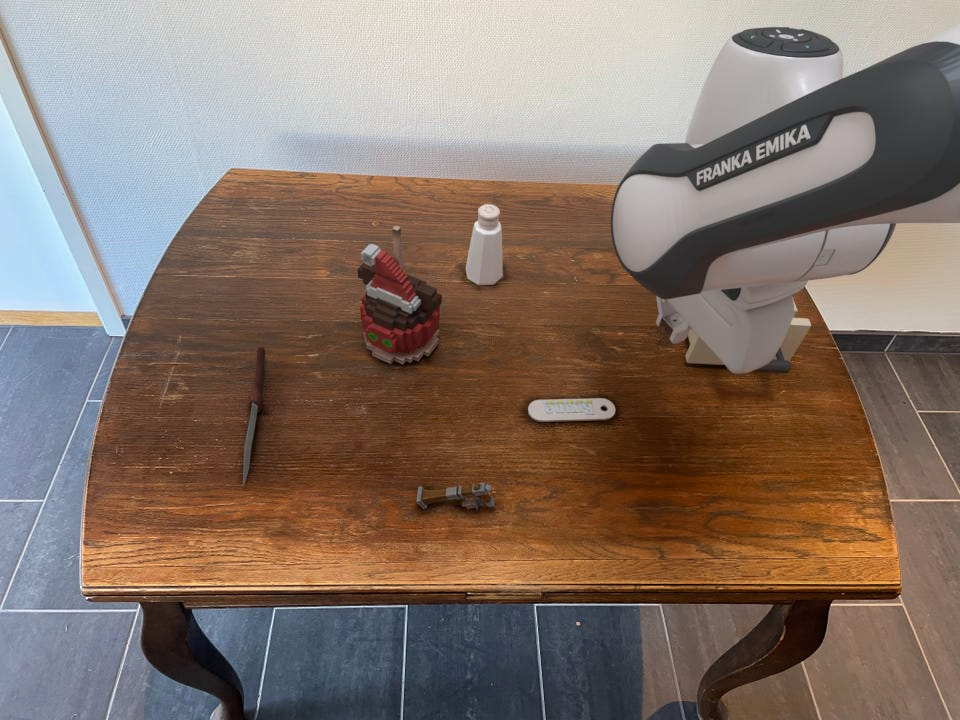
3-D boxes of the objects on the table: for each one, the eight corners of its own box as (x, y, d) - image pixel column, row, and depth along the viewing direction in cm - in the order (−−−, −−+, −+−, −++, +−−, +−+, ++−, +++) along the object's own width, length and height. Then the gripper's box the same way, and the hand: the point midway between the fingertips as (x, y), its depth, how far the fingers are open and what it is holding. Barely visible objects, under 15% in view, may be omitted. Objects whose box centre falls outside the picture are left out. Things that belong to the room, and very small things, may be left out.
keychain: (613, 396, 83) (618, 416, 81) (612, 399, 84) (617, 419, 82) (527, 398, 82) (530, 419, 80) (526, 401, 83) (529, 422, 81)
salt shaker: (470, 256, 99) (474, 193, 90) (507, 265, 98) (514, 201, 90) (459, 281, 95) (462, 217, 87) (497, 290, 95) (504, 227, 86)
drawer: (795, 398, 84) (823, 356, 78) (693, 393, 84) (713, 350, 78) (761, 297, 95) (783, 254, 89) (671, 292, 95) (687, 248, 89)
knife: (252, 491, 73) (247, 477, 71) (237, 492, 73) (231, 478, 71) (271, 358, 85) (267, 342, 83) (258, 359, 85) (254, 342, 82)
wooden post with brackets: (502, 512, 72) (487, 491, 69) (433, 520, 75) (415, 500, 71) (503, 497, 73) (489, 475, 70) (435, 505, 76) (417, 485, 73)
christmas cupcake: (455, 331, 89) (460, 220, 76) (419, 380, 84) (417, 270, 70) (385, 301, 92) (378, 189, 78) (345, 346, 87) (330, 235, 73)
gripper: (615, 164, 63) (588, 275, 74) (764, 312, 52) (707, 418, 63) (670, 150, 65) (637, 260, 76) (825, 289, 54) (761, 395, 65)
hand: (670, 332), depth 69 cm, fingers closed
